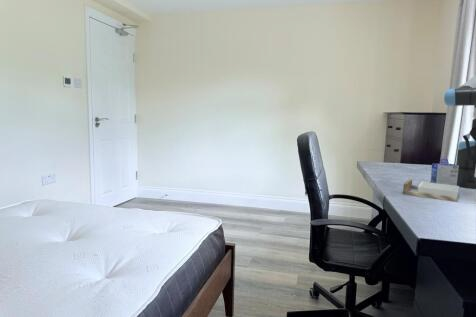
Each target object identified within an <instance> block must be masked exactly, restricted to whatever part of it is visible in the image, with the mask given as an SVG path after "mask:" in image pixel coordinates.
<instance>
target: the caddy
mask: <svg viewBox="0 0 476 317" xmlns="http://www.w3.org/2000/svg"><path fill="white" fill-rule="evenodd" d="M417 186H418V189H417V192H420V193H427V194H434V195H441V196H449V197H456V198H457V199H458V198H459V196H458V195H459V188H460V187H459V186H454V185H445V184H437V183H431V182H429V181H421V182H420V184H419V185H417Z"/></svg>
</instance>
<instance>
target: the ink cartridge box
mask: <svg viewBox="0 0 476 317" xmlns="http://www.w3.org/2000/svg"><path fill="white" fill-rule="evenodd" d="M439 160H440V161H439V162H440V163H432V164H431V173H430V174H431V176H430V183H437V184H445V185H454V186H457V177H458V168H459V165H456V163H449V159H448V158H440V159H439Z"/></svg>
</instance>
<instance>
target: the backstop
mask: <svg viewBox="0 0 476 317" xmlns="http://www.w3.org/2000/svg"><path fill="white" fill-rule="evenodd" d="M418 186H419V185H413V179H412V178H408V180H406V181H405V182H404V183H403V188H402V191H403V192H402V195H409V196H414V197H415V196H416V197H421V198H429V199H436V200H442V201H450V202H458V197H457V198H456V197H449V196H441V195H434V194H427V193H420V192H418V191H412V190H418Z"/></svg>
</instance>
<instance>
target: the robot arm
mask: <svg viewBox="0 0 476 317" xmlns="http://www.w3.org/2000/svg"><path fill="white" fill-rule="evenodd" d="M443 98H444V100H443V101H444V103H445V105H446V106H453V107H457V106H458V107H460V106H461V107H462V106H463V107H464V106H469V107H470V106H474V108H473V113H472V114H473V116H472V117H473V119H472V122H471V129H470V131H469V133H467V134H463V136H462V138H463V141H460V142H458V148H457V153H456V154H457V155H456V162H455V165H459V168H458V177H457V186H459V188H460V187H461V188H468V189H476V73H474V76H472V77H471V78H470V79H468V80H467V81H466V82H464V83H463V84H461V85H460V86H459V87H458V88H448V89H447V90H446V91H445V93H444V97H443ZM471 138H472V139H473V140H470V139H471Z"/></svg>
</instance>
